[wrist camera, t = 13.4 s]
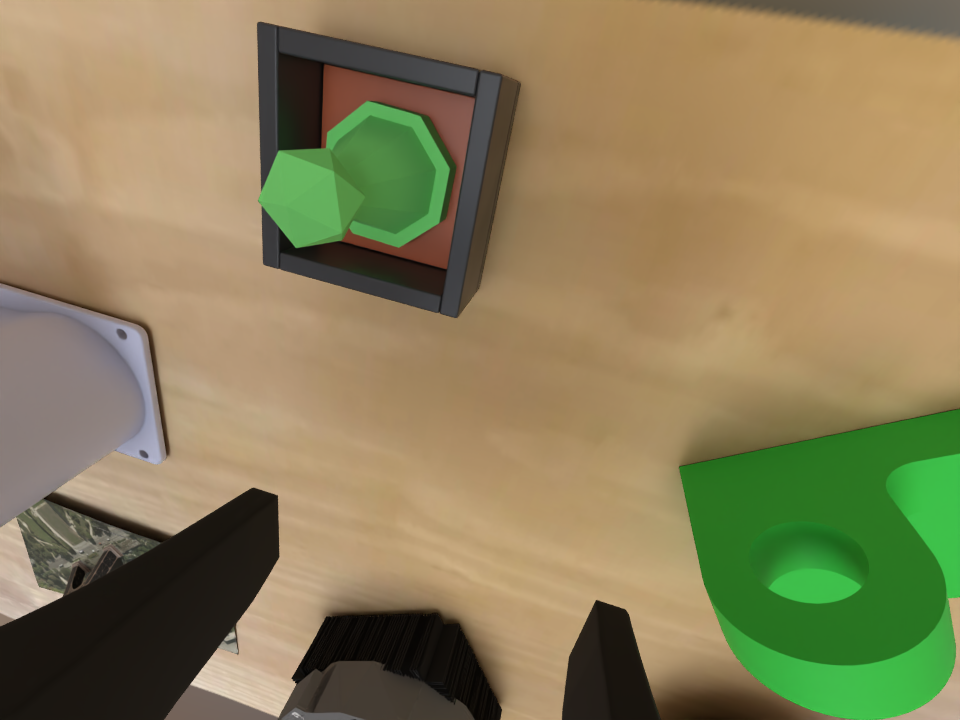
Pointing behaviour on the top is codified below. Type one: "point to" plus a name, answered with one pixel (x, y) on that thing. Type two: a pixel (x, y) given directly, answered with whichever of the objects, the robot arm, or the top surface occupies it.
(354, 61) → the pad holder
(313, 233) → the game piece
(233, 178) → the top surface
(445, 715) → the cpu cooler
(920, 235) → the top surface
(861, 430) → the mechanical part
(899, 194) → the top surface
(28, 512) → the eiffel tower figurine
